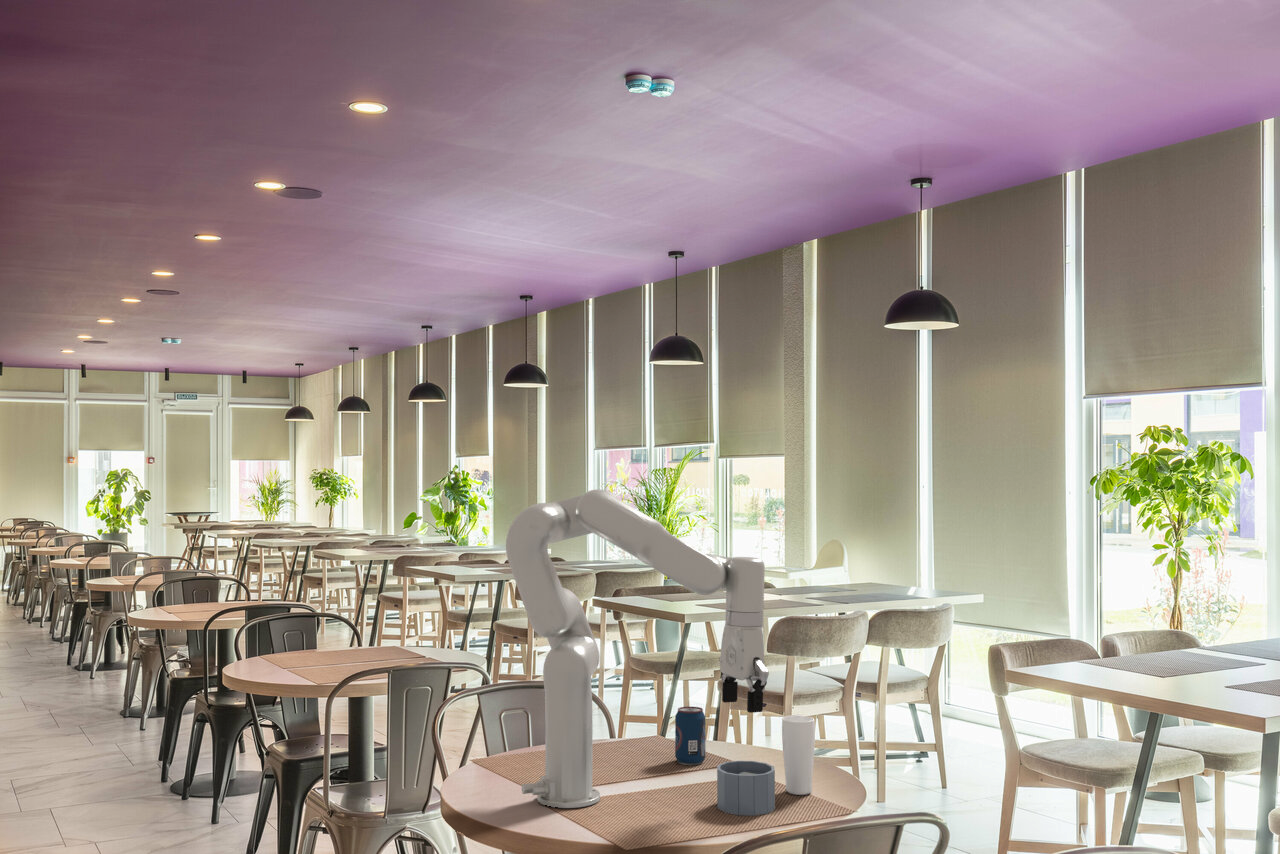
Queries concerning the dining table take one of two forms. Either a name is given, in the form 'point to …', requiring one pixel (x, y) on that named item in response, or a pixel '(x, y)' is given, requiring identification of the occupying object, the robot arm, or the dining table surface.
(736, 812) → the cup
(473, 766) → the dining table surface
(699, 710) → the soda can
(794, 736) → the drinking glass
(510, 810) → the dining table surface
